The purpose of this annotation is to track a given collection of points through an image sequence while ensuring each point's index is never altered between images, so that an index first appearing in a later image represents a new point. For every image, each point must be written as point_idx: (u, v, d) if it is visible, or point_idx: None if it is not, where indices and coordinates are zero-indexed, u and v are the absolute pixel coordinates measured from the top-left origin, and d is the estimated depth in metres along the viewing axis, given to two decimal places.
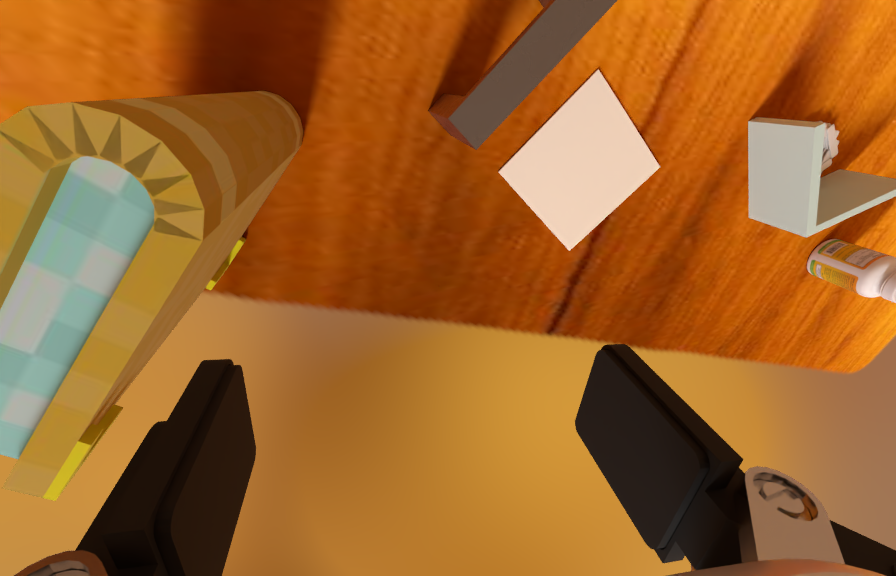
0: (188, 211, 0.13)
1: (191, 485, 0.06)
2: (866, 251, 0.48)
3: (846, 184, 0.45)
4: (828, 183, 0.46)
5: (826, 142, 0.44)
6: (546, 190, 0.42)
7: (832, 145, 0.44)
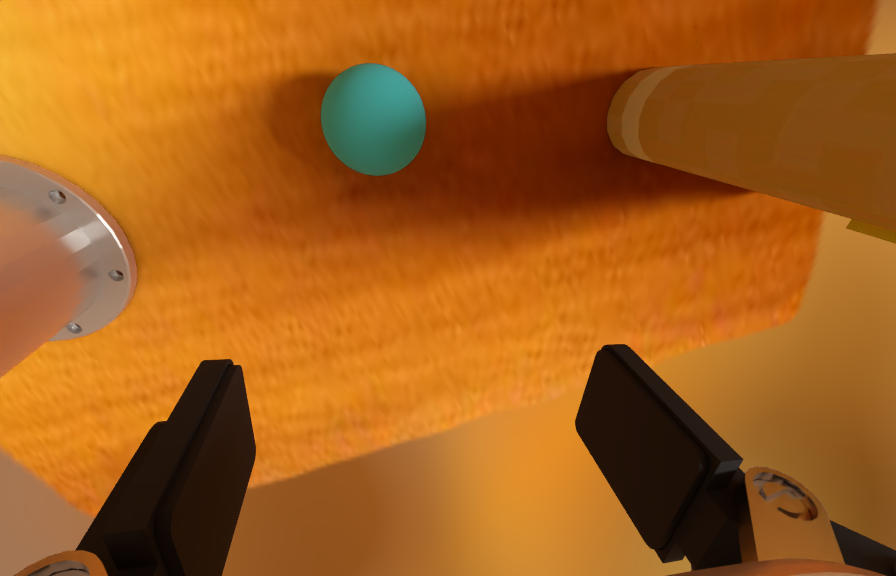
0: None
1: (191, 486, 0.06)
2: None
3: None
4: None
5: None
6: None
7: None
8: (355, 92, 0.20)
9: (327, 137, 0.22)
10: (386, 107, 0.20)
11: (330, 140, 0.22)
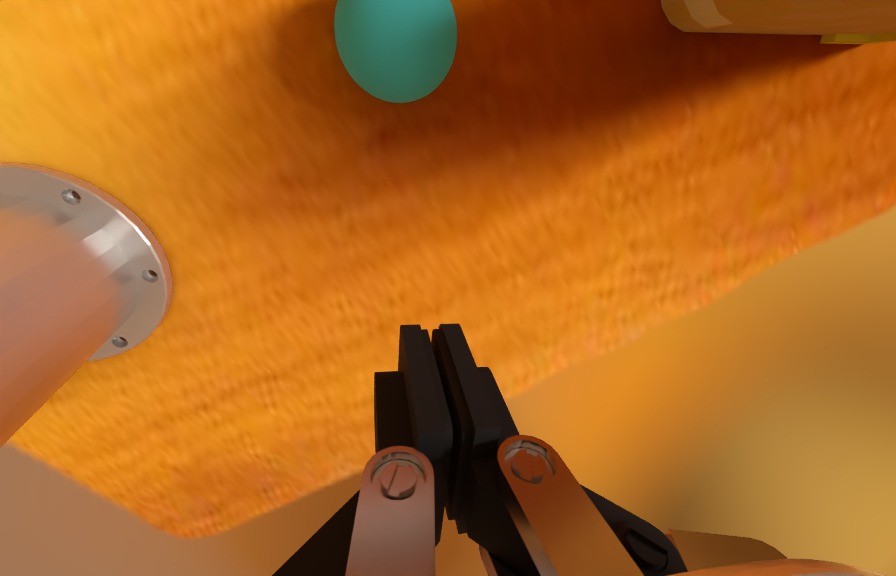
0: None
1: (445, 410, 0.08)
2: None
3: None
4: None
5: None
6: None
7: None
8: None
9: (347, 60, 0.18)
10: None
11: (351, 62, 0.18)
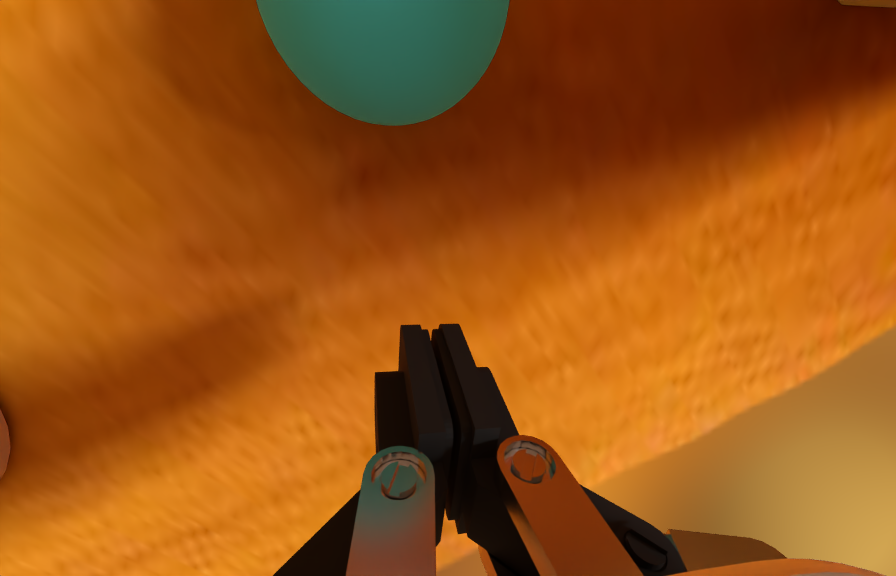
0: None
1: (446, 409, 0.08)
2: None
3: None
4: None
5: None
6: None
7: None
8: None
9: (280, 39, 0.08)
10: None
11: (289, 43, 0.08)
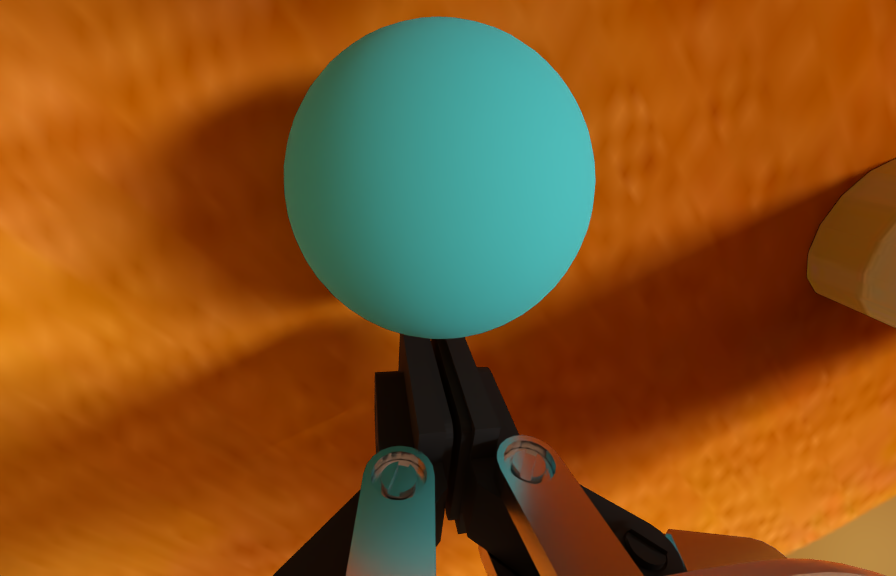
0: None
1: (446, 410, 0.08)
2: None
3: None
4: None
5: None
6: None
7: None
8: None
9: (323, 71, 0.06)
10: None
11: (336, 57, 0.06)
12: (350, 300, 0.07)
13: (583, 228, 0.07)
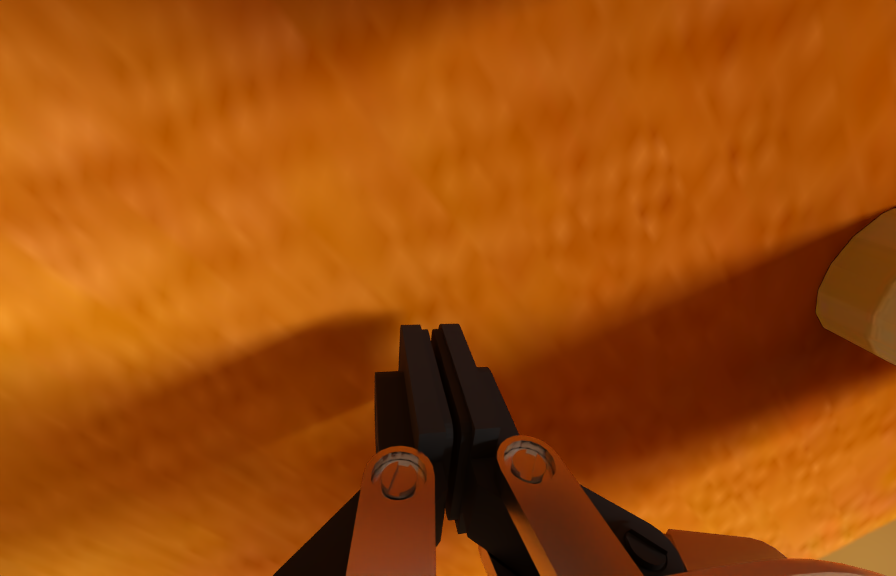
0: None
1: (445, 410, 0.08)
2: None
3: None
4: None
5: None
6: None
7: None
8: None
9: None
10: None
11: None
12: None
13: None
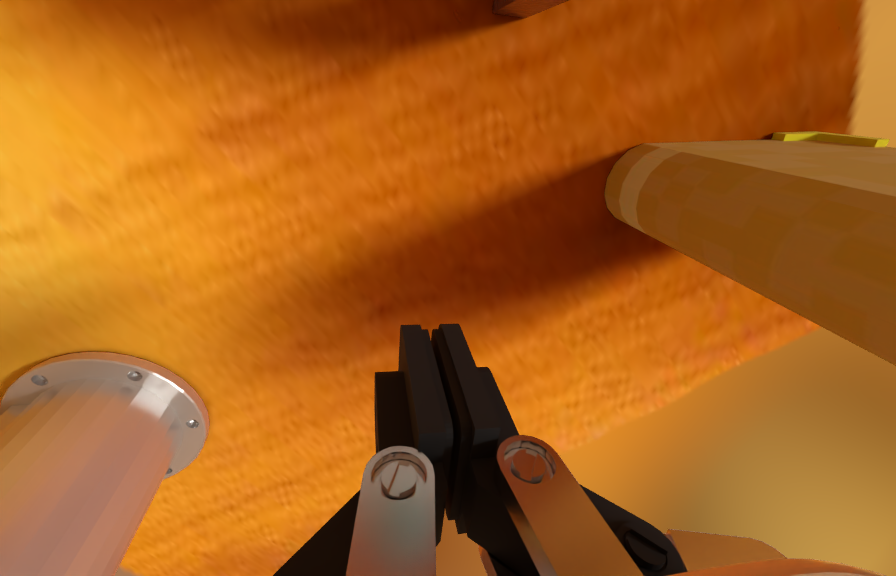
0: None
1: (445, 410, 0.08)
2: None
3: None
4: None
5: None
6: None
7: None
8: None
9: None
10: None
11: None
12: None
13: None
